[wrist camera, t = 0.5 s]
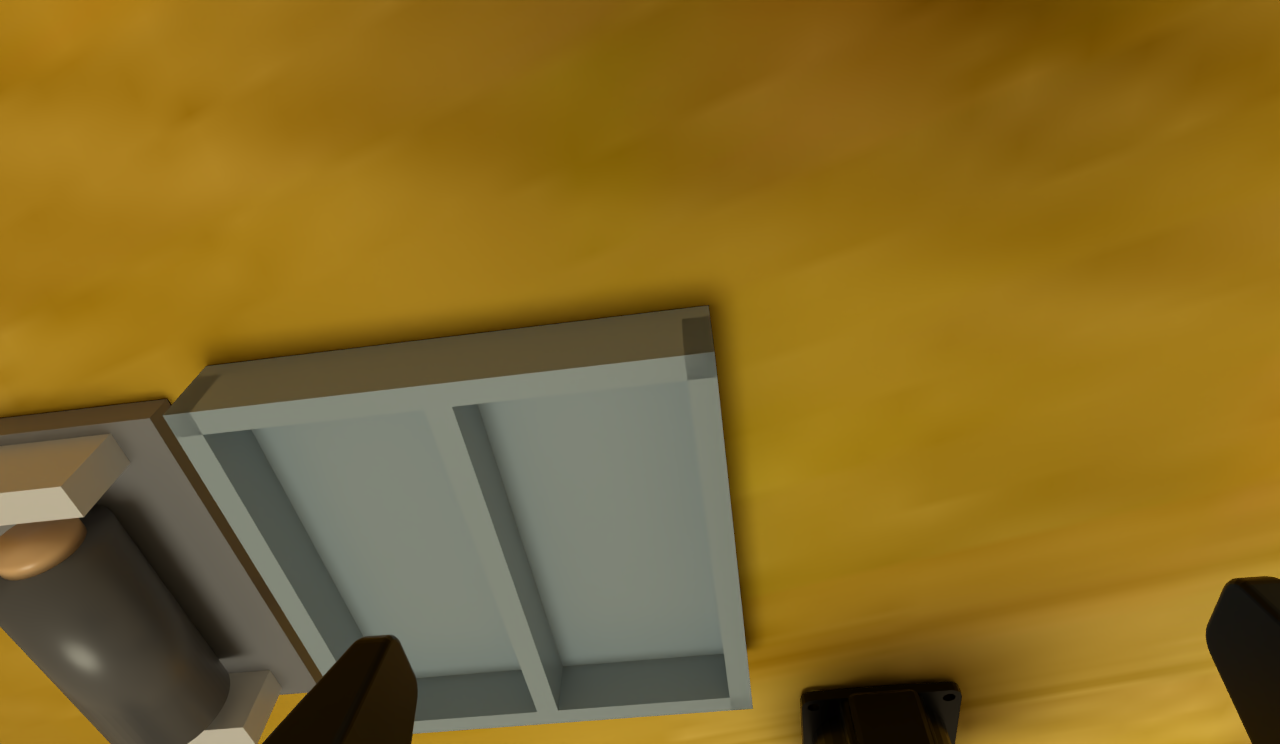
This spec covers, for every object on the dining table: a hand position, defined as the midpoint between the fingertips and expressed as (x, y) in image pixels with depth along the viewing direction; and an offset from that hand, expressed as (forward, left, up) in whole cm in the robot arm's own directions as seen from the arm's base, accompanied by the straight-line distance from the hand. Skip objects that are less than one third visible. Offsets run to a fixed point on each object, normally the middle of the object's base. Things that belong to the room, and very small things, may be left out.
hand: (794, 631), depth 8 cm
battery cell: (-12, +22, -13) cm, 28 cm away
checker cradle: (-11, +22, -14) cm, 28 cm away
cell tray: (-11, +8, -14) cm, 20 cm away
